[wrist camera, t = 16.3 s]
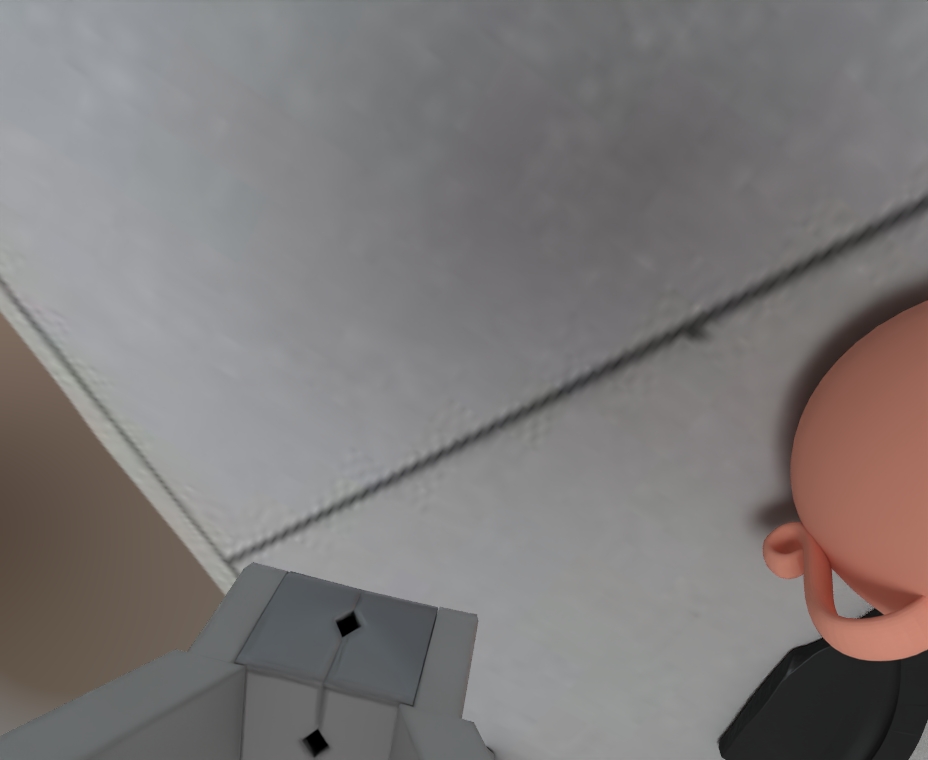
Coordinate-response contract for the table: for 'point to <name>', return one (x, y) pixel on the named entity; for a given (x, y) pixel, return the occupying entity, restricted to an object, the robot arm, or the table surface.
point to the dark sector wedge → (833, 709)
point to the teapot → (865, 493)
